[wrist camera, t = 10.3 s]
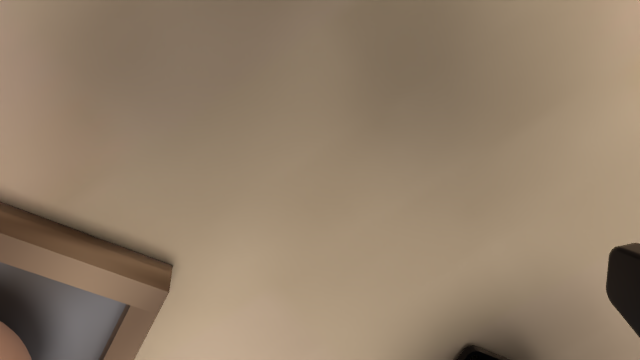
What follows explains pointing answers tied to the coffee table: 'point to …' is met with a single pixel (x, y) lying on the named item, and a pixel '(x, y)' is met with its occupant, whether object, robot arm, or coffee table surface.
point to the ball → (11, 345)
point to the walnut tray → (75, 290)
